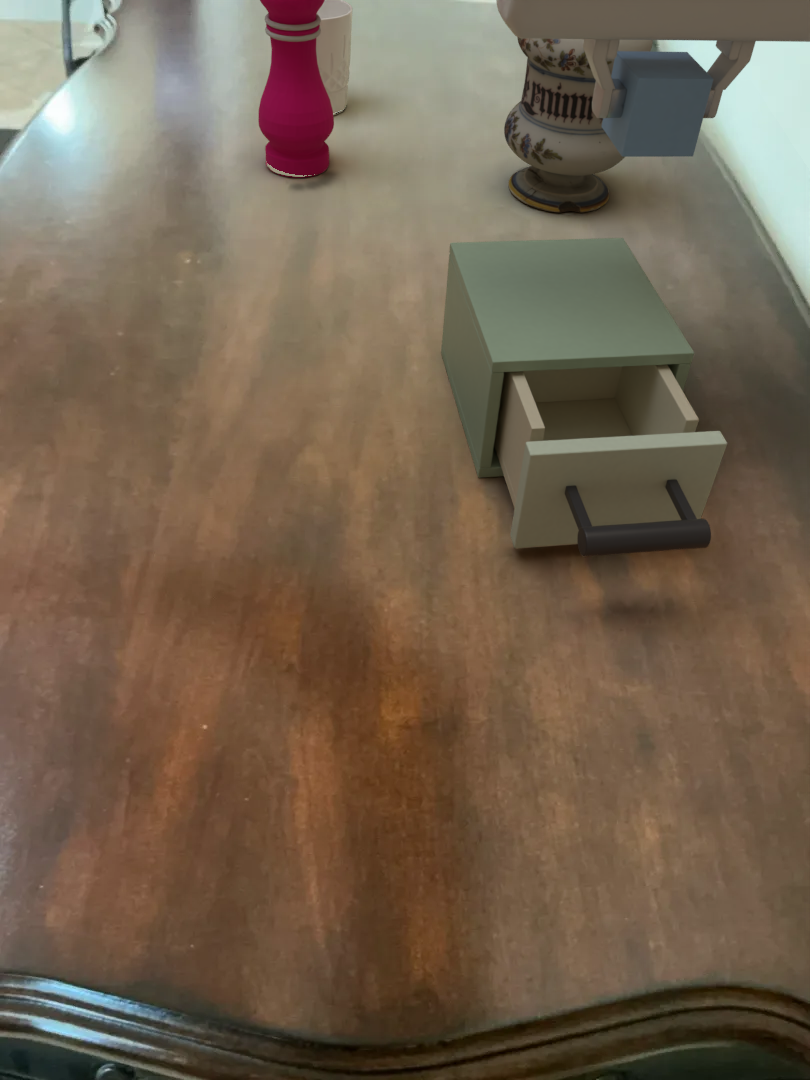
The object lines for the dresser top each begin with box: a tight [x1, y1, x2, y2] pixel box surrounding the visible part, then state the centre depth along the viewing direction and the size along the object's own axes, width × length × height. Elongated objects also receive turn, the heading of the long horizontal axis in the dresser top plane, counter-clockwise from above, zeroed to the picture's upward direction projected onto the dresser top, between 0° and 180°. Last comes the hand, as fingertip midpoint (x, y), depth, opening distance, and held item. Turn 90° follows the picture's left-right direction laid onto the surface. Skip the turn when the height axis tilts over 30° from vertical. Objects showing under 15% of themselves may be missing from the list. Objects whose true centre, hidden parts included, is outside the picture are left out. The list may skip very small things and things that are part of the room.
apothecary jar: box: [503, 36, 654, 214], centre depth 89 cm, size 12×12×18 cm
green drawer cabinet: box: [440, 237, 695, 479], centre depth 67 cm, size 15×13×9 cm
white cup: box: [316, 0, 354, 116], centre depth 104 cm, size 8×8×10 cm
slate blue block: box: [602, 51, 713, 158], centre depth 58 cm, size 4×4×4 cm
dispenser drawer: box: [494, 364, 728, 558], centre depth 59 cm, size 18×11×7 cm, turn 8°
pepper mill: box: [258, 0, 335, 179], centre depth 90 cm, size 7×7×20 cm
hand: (651, 115), depth 59 cm, fingers closed on slate blue block, 4 cm apart
